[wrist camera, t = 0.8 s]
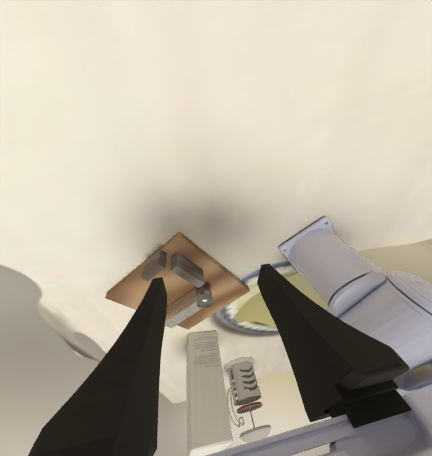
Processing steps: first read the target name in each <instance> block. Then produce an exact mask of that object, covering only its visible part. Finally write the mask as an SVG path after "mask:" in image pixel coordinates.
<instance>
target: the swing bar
mask: <svg viewBox="0 0 432 456" xmlns="http://www.w3.org/2000/svg"><path fill="white" fill-rule="evenodd" d="M212 304H213V297H212V292H211V286H210V284H209V283H207V282H205V284H204V285H202V286H201V287H199V288H198V287H195V288H194V289H192V290H191V291H190V292H188V293H187V294H185V295H184V296H182V297H181V298H179V299H178V300H177V301H175V302H174V303H172V304H171V305H169V306H168V307H167V313H166V320H165V326H167V327H170V328H172V327H174V326H176V325H177V324H179V323H180V322H182V321H183V320H185V319H186V318H188V317H189V316H191V315H193V314H194V313H196V312H197V311H199V310H200V309H202V308H208V307H210V306H212Z"/></svg>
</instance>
